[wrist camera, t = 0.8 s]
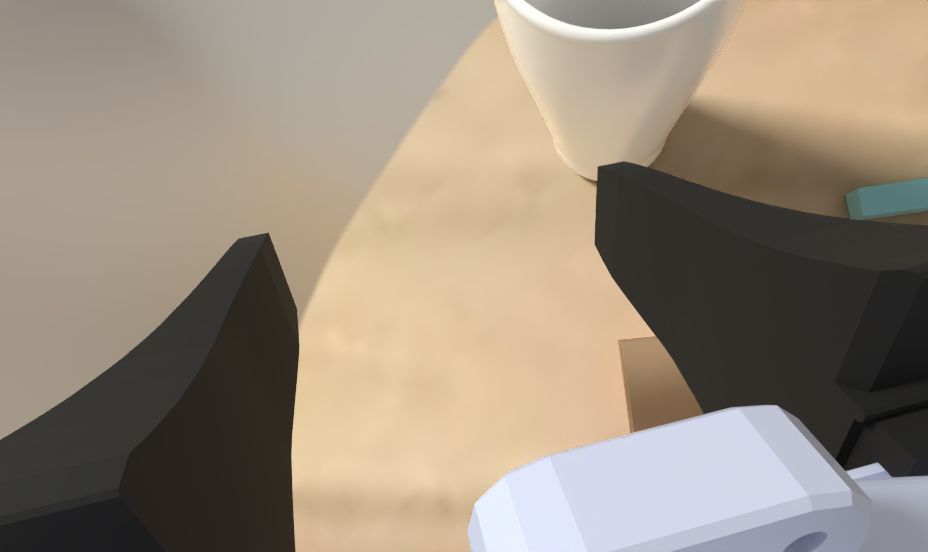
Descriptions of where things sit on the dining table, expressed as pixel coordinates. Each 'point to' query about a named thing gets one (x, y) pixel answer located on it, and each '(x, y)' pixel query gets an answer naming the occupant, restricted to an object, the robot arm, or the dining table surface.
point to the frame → (888, 199)
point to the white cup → (614, 69)
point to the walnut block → (654, 385)
